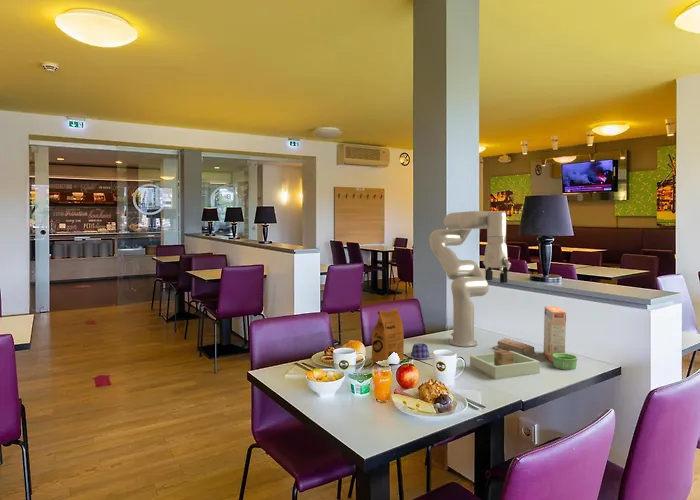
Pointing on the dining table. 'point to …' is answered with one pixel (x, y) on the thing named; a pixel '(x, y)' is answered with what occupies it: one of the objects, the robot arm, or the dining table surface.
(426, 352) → the purple plaid hat
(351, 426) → the dining table surface
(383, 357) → the coffee package
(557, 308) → the cracker box
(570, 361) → the ramekin
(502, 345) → the packaged product
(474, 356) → the bin
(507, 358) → the walnut block
